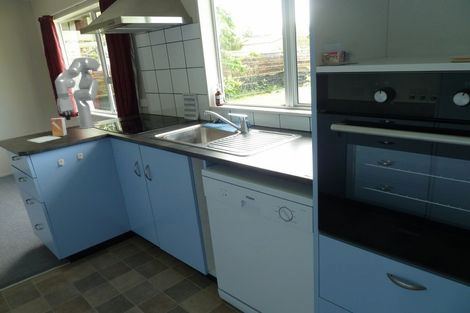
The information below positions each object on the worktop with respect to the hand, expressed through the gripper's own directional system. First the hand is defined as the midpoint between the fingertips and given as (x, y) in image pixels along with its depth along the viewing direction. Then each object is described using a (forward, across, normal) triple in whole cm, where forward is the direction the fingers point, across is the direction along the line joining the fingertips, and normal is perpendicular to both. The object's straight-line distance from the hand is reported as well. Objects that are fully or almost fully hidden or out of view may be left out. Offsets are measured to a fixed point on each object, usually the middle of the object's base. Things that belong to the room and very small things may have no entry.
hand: (68, 119), depth 259 cm
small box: (+10, +9, 0) cm, 14 cm away
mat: (+11, +21, 0) cm, 23 cm away
